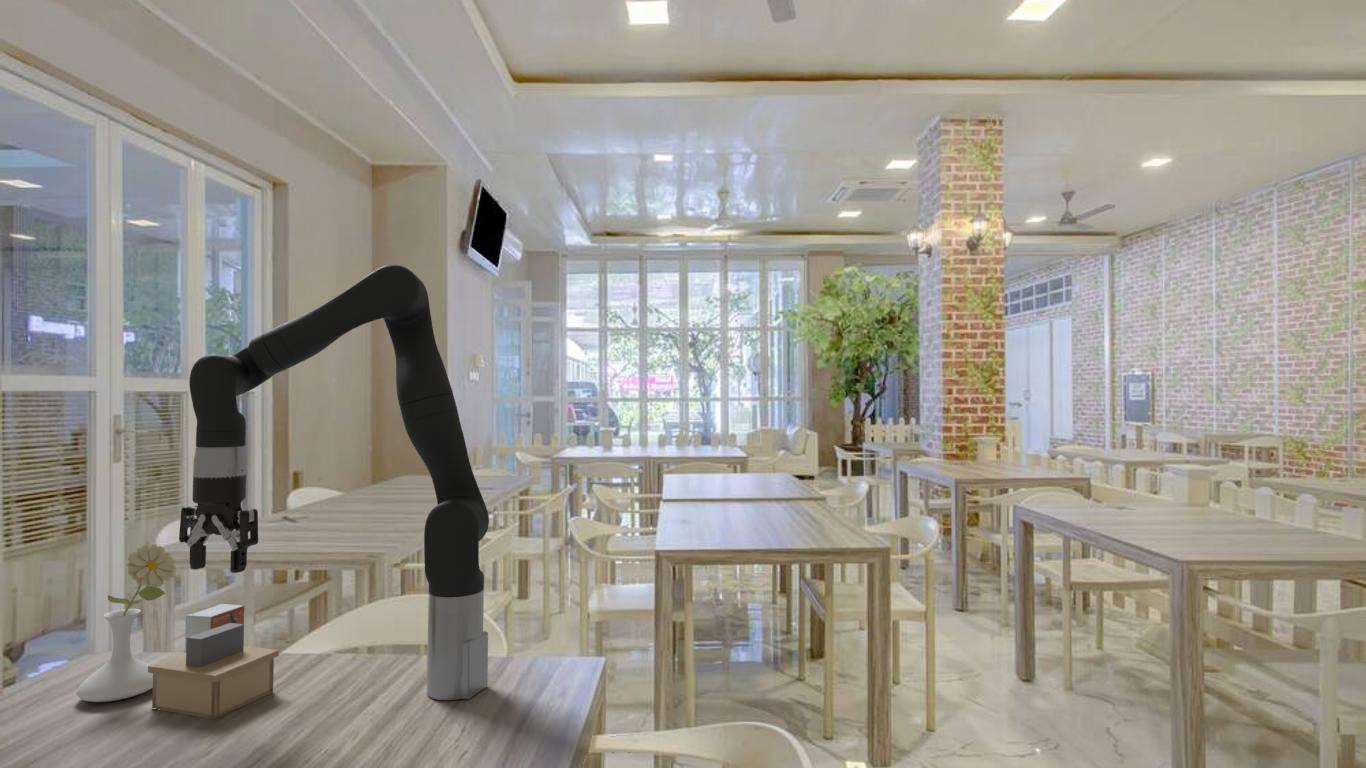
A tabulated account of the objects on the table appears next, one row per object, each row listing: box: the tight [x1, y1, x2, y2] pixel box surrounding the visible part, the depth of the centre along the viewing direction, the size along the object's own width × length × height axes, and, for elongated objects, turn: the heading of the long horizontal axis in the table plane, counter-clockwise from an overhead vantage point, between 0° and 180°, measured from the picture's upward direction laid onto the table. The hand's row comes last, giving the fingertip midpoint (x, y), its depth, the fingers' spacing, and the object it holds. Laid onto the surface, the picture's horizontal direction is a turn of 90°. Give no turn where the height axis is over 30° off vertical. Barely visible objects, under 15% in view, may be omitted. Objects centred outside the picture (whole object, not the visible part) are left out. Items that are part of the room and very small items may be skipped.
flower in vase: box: [75, 543, 177, 703], centre depth 121 cm, size 13×11×25 cm
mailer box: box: [151, 658, 275, 720], centre depth 118 cm, size 13×11×6 cm
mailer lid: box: [148, 623, 280, 682], centre depth 118 cm, size 14×12×6 cm
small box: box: [184, 603, 245, 653], centre depth 133 cm, size 8×6×10 cm
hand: (217, 570), depth 118 cm, fingers open, 8 cm apart
